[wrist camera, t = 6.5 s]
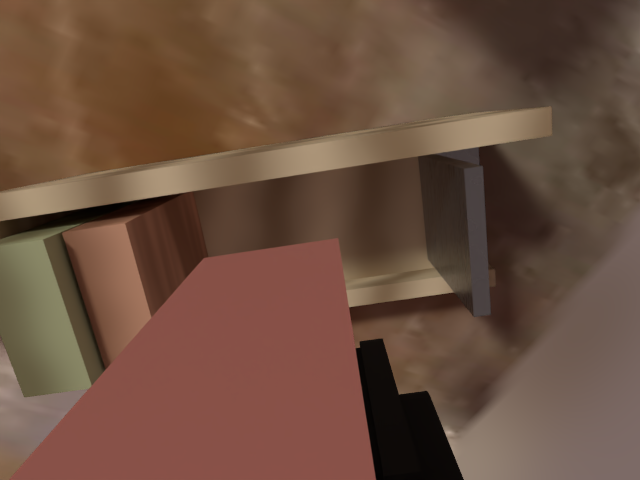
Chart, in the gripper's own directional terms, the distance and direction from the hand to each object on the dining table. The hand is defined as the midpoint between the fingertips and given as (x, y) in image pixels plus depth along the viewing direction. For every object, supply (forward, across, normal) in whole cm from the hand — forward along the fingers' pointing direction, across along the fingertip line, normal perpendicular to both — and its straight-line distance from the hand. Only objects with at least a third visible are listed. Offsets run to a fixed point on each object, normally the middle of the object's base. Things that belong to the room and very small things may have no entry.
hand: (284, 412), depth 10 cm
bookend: (+19, -9, 0) cm, 21 cm away
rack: (+20, +2, 0) cm, 21 cm away
